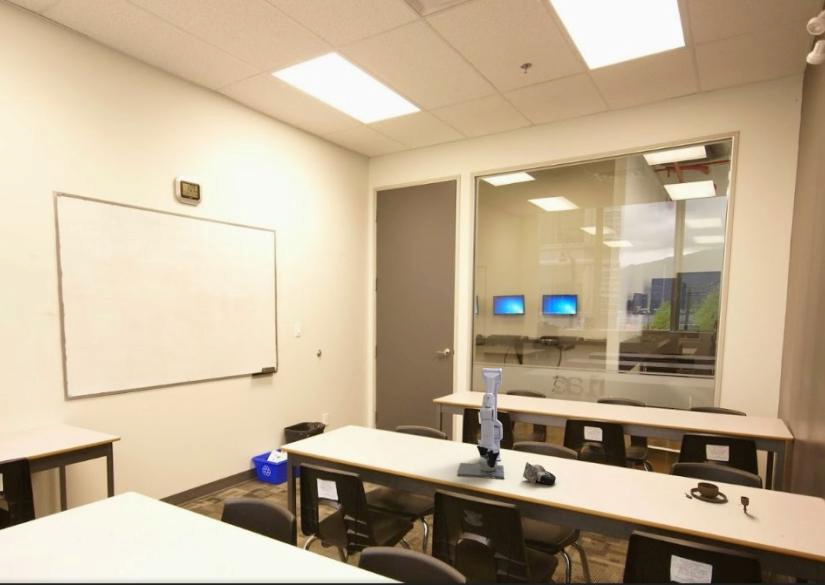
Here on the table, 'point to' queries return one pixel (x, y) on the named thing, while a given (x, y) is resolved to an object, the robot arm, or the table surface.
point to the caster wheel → (538, 474)
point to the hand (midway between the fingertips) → (487, 464)
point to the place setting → (713, 494)
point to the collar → (486, 463)
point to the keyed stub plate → (479, 471)
